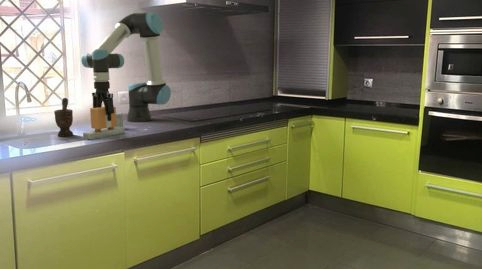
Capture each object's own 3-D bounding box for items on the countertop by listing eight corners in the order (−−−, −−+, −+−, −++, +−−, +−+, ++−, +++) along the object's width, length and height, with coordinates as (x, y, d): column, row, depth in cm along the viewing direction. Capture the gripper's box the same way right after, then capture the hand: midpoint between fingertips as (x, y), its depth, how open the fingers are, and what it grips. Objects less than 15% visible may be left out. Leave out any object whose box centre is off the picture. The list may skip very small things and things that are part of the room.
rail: (118, 132, 236) (118, 126, 235) (125, 133, 233) (124, 127, 232) (83, 138, 218) (83, 132, 217) (90, 139, 215) (89, 133, 215)
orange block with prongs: (109, 130, 231) (107, 106, 229) (117, 131, 228) (115, 107, 226) (91, 134, 222) (90, 108, 220) (99, 135, 219) (97, 109, 217)
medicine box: (123, 128, 248) (122, 112, 247) (121, 129, 244) (120, 113, 242) (109, 128, 248) (108, 112, 246) (107, 129, 244) (106, 114, 242)
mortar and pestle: (81, 135, 225) (78, 97, 222) (65, 138, 219) (62, 98, 215) (68, 133, 232) (65, 95, 229) (53, 135, 226) (49, 97, 222)
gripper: (83, 80, 222) (86, 125, 227) (108, 82, 212) (110, 129, 216) (95, 79, 229) (98, 123, 233) (120, 81, 218) (122, 127, 222)
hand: (104, 126), depth 225 cm, fingers closed on orange block with prongs, 6 cm apart
